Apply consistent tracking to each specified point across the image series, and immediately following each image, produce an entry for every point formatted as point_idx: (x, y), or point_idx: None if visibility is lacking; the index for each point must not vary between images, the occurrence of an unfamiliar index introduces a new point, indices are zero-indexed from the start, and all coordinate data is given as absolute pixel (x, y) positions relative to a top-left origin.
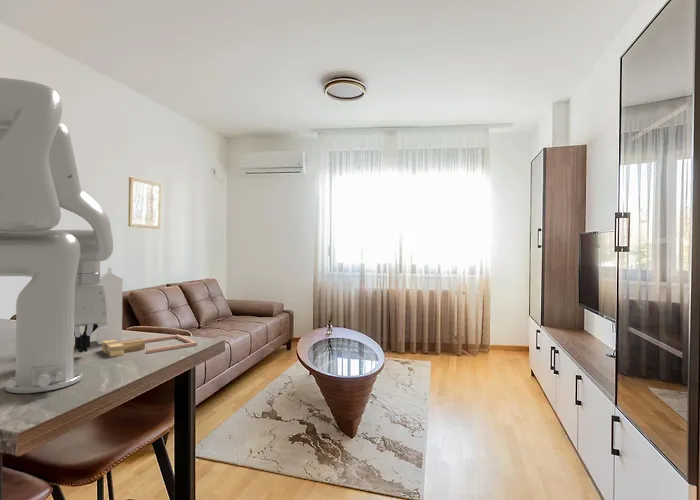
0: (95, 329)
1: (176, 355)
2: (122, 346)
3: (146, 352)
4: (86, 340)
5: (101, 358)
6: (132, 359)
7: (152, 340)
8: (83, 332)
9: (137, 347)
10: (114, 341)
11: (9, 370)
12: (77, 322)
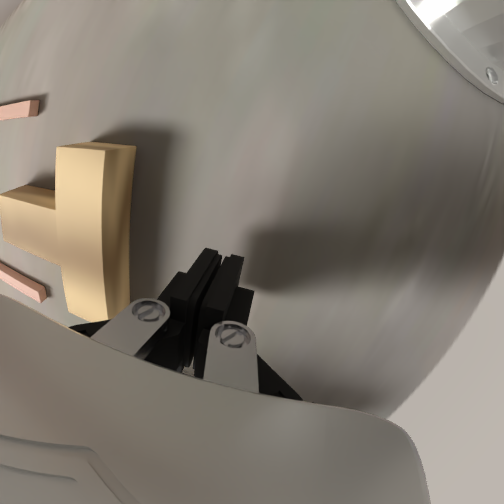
0: (92, 323)
1: (26, 19)
2: (64, 147)
3: (37, 113)
4: (188, 280)
5: (175, 152)
6: (106, 33)
7: (5, 268)
8: (174, 370)
9: (33, 190)
10: (70, 279)
11: (480, 288)
12: (236, 418)
